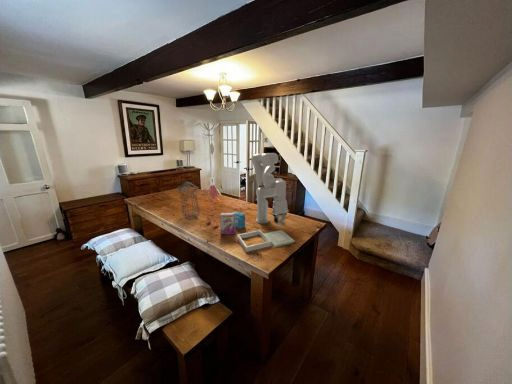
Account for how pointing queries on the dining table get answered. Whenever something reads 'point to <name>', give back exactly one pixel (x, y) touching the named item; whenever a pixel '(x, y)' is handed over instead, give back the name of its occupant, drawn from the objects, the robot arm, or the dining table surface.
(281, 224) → the beech box
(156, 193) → the dining table surface
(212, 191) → the figurine
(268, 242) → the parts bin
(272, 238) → the sage board
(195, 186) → the geometric lantern
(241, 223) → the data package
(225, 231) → the candy bar box
